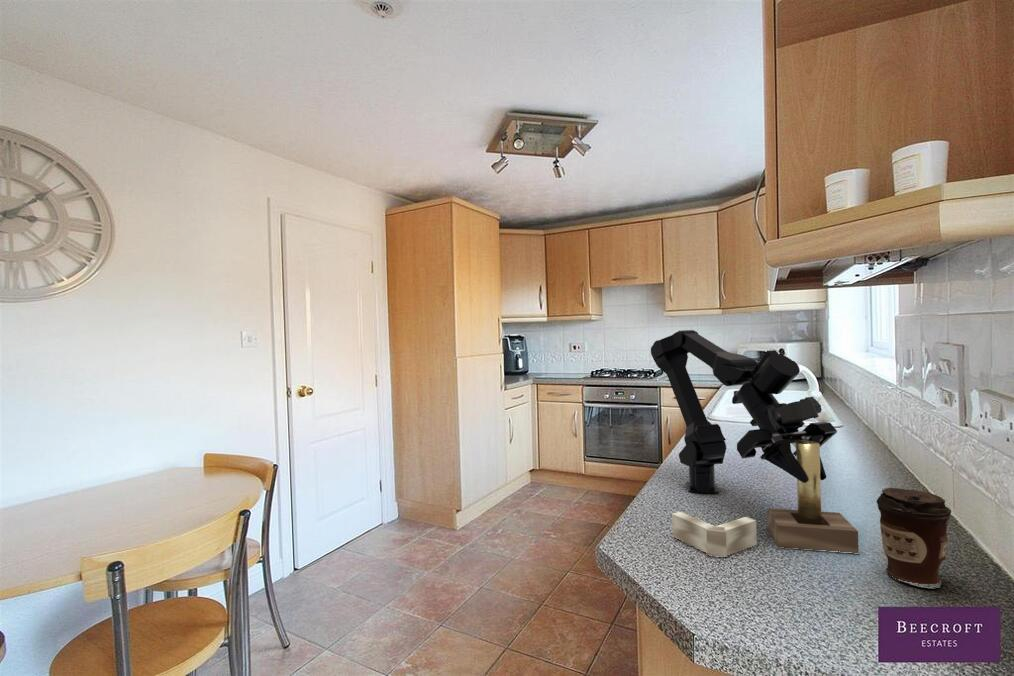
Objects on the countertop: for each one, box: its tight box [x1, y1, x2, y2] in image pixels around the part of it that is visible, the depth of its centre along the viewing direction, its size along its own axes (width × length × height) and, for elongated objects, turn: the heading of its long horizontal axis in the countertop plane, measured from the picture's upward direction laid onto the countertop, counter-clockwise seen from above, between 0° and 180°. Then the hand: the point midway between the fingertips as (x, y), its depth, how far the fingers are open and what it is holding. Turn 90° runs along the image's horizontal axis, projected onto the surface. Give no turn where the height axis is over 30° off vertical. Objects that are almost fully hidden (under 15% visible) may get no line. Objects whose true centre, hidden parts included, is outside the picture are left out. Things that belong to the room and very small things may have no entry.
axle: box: [795, 440, 822, 519], centre depth 85 cm, size 4×4×13 cm
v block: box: [671, 511, 758, 558], centre depth 84 cm, size 8×14×4 cm, turn 71°
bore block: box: [766, 507, 860, 553], centre depth 85 cm, size 8×12×4 cm, turn 73°
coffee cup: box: [876, 487, 952, 584], centre depth 71 cm, size 9×8×13 cm
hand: (815, 480), depth 83 cm, fingers closed on axle, 4 cm apart
